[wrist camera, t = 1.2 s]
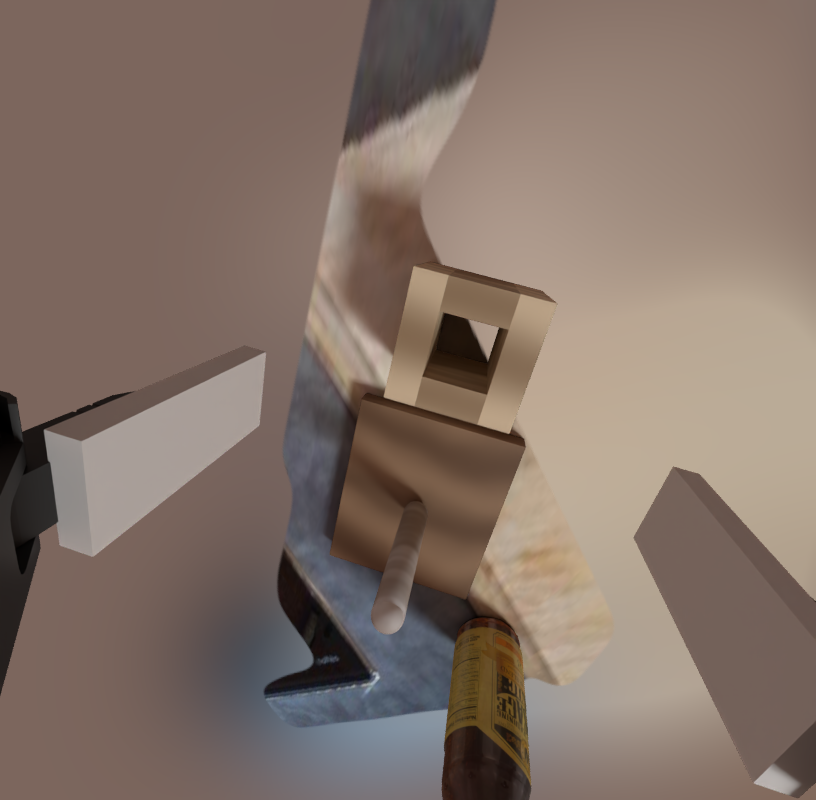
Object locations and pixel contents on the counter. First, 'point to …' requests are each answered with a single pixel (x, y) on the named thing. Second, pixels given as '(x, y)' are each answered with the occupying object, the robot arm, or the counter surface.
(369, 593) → the counter surface
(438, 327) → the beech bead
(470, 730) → the sauce bottle
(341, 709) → the counter surface
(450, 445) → the rod stand
